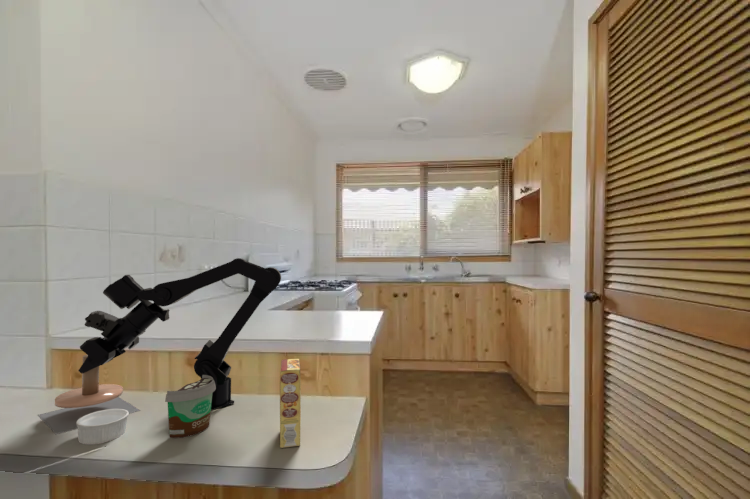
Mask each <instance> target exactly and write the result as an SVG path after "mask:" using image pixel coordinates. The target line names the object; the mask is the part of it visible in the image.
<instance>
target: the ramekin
mask: <svg viewBox="0 0 750 499" xmlns="http://www.w3.org/2000/svg"><path fill="white" fill-rule="evenodd" d="M129 415H130V414H129V412H128V411H127V410H124V409H108V410H102V411H97V412H93V413H90V414H87V415H85V416H83V417H81V418H80V419H78V420H77V422H76V425H77V427H78V428H77V438H78V442H79V443H80V444H83V445H98V444H103V443H107V442H110V441H113V440H115V439H117V438H120V437H121V436H123V435H124V434H125V432H126V431H127V423H128V417H129Z"/></svg>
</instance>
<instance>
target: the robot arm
mask: <svg viewBox="0 0 750 499" xmlns="http://www.w3.org/2000/svg"><path fill="white" fill-rule="evenodd" d="M235 275H241V276H243V277H246V278H248V279H250V280H252V281H254V283H253V286H252V288H251V290H250V292H249V295H248V296H247V298H246V299H245V300H244V302H243V303H242V304H241V305H240V307H239V309H238V310H237V311H236V313H235V314H234V316H233V317H232V318H231V320H230V321H229V322H228V324H227V325H226V327H225V328H224V329H223V331H222V332H221V334H220V335H219V336H218V338H216V340H215V341H214V342H213V341H212V340H211V339H209V340H207V342H205V344H204V345H203V347H202V349H201V350H200V352H199V353H198V354H197V355H196V356H195V357H194V360H195V362H194V364H193V370H194V373H195V375H197V377H199V378H200V380H201V379H202V375H208V376H211V377H213V380H214V381H215V385H216V389H215V391H214V392H213V393H212V403H211V411H212V410H213V411H215V410H217V409H221V408H224V407H226V406H229V405H232V404H235V400H233V399H232V377H229V375H230V373H231V371H232V366H231V365H230V364H229V363H227V361H225V359H226V356H227V354H228V352H229V351H230V350H229V349H230V347H231V345H232V344H233V342H234V341H235V340H236V338H237V336H238V335H239V334H240V332H241V331H242V329H244V327H245V326H246V324H247V322H248V321H249V320H250V318H252V316H253V314H254V313H255V311H256V310H257V308H258V307H259V305H261V303H262V302H263V301H264V300H265V299H266V298H268V296H269V295H270V294H271V293H272V292H273V291H274V290H275V289H277V287H278V286H279V285H280V283H281V280H282V275H281V273H280V271H279V270H278V269H277V268H275V267H271V266H270V267H263V266H260V265H258V264H255V263H252V262H250V261H247V260H246V259H244V258H242V257H241V258H239V257H237V258H233V260H231V261H229V262H225V263H223V264H221V265H218V266H216V267H215V266H214V268H211V269H208V270H205V271H203V272H200V273H197V274H195V275H192V276H189V277H187V278H182V279H181V278H180V279H177V280H171V281H167V282H162V283H158V284H156V285H155V286H154V287H153V288H152V287H147V288H143V286H141V285H140V283H138V282H137V281H136V280H135V278H134V277H132V275H130V274H125V275H123V276H122V277H120V278H119V279H117V280H115V281H114V282H112V283H110V284H109V285H107V287H105V288H104V289H103V290H102V294H103V295H104V296H105V297H107V298H108V299H109V300H110V301H112V303H113V304H115V305H116V306H117V307H118V308H119V310H123V309H125V308H127V310H130V311H129V312H127V313H126V314H125V316H123V317H117V316H115V315H113V314H110V313H107V312H105V311H102V310H95V311H91V312H90V313H89V314H88V316H87V317H86V316H85V318H84V321H85V323H84V325H83V326H85V327H87V328H93V329H96V330H98V331H100V332H101V333H100V335H101V336H102V337H101V336H97V337H92V338H89V339H86V340H85V341H84V342H83V343H82V344H81V345H80V346H79V349H80V350H81V351H82V352H83V353H84V354H85V355H88V356H87V358H86V360H85V361H84V363H83V362H82V364H81V365H80V368H79V369H78V372H79V373H80V374H82V373H85V372H87V371H89V370H91V369H93V368H96V367H98V366H99V367H100V366H103V365H105V364H108V363H109V362H111V361H113V360H114V359H115V358H117V357H119V356H121V355H123V354H125V353H126V350H125V349H127V348H128V350H131V349H133V348H135V347H136V346H137V345H138V344H139V343H140V336H141V335H143V334H145V332H146V331H147V329H149V327H150V326H151V325H152V324H153V323H154V322H156V321H157V320H158V319H159V320H161V321H162V322H166V321H168V320H169V319H170V309H168V308H167V309H164V308H162V307H167V306H171V305H174V304H176V303H178V302H180V301H182V300H183V299H185V298H186V297H188V296H189V295H192V293H194V292H196V291H198V290H200V289H203V288H204V287H205V288H206V287H208V286H210V285H213V284H215V283H218V282H220V281H222V280H225V279H228V278H230V277H233V276H235Z"/></svg>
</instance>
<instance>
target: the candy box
mask: <svg viewBox="0 0 750 499" xmlns="http://www.w3.org/2000/svg"><path fill="white" fill-rule="evenodd" d="M279 375H280V376H279V378H280V379H279V439H280V440H279V443H280V444H279V447H280V449H282V448H283V449H284V448H290V447H300V446H301V425H302V424H301V421H302V420H301V417H302V414H301V412H302V411H301V409H302V408H301V407H302V406H301V405H302V404H301V402H302V400H301V399H302V396H301V391H302V389H301V385H302V382H301V381H302V380H301V364H300V358H289V359H287V358H285V359H281V362H280V371H279Z"/></svg>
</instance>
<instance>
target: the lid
mask: <svg viewBox="0 0 750 499" xmlns="http://www.w3.org/2000/svg"><path fill="white" fill-rule="evenodd" d="M87 356H88V355H87V354H85V355H82V364H83V363H84V361H85V360H86V358H87ZM81 379H82V380H81V387H78V388H75V389H72V390H68V391H64V392H62V393H61V394H59V395H57V396H56V397H55V399H54V406H55V407H57V408H59V409H64V408H78V407H86V406H91V405H96V404H100V403H104V402H107V401H110V400H113V399H115V398H117V397H119V398H120V396H122V395H123V393H124V387H123V386H122V385H119V384H113V383H105V384H103V383H102V384H100V366H98V367H96V368H93V369H91V370H89V371H87V372H85V373H82V375H81Z"/></svg>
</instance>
